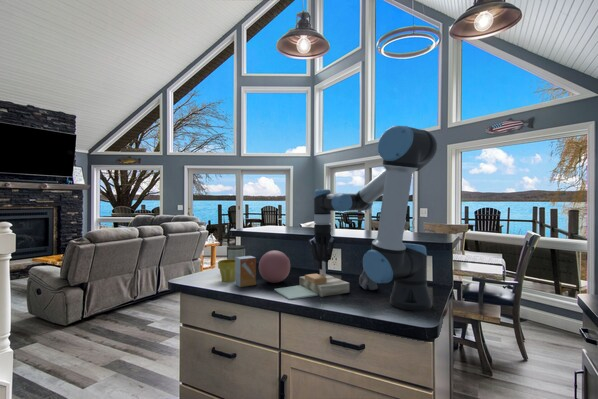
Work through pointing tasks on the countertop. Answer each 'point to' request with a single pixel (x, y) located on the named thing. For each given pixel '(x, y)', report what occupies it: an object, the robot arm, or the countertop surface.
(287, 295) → the mat
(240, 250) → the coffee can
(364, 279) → the mineral rock
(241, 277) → the small box
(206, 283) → the countertop surface
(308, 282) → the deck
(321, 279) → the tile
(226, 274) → the plant pot
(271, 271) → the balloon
